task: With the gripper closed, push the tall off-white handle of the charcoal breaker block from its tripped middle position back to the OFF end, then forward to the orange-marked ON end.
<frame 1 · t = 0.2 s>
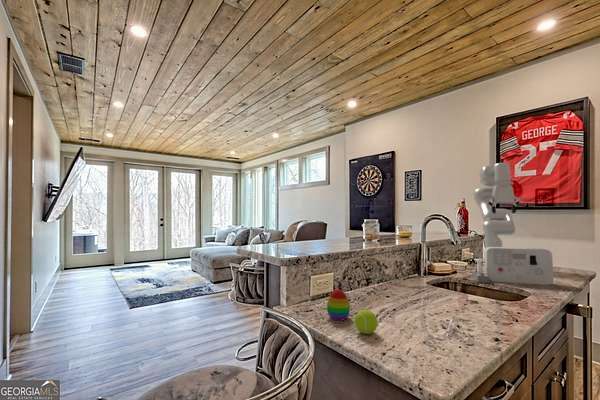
hand: (503, 213, 166), 37 cm above the worktop, tool pointing down, fingers open, 9 cm apart
tennis ball: (366, 333, 89), on the worktop
breaker block: (479, 279, 157), on the worktop
control panel: (517, 282, 151), on the worktop
decorative egg: (338, 318, 103), on the worktop
breaker handle: (479, 267, 158), point 7 cm above the worktop, slide at 5.0 cm
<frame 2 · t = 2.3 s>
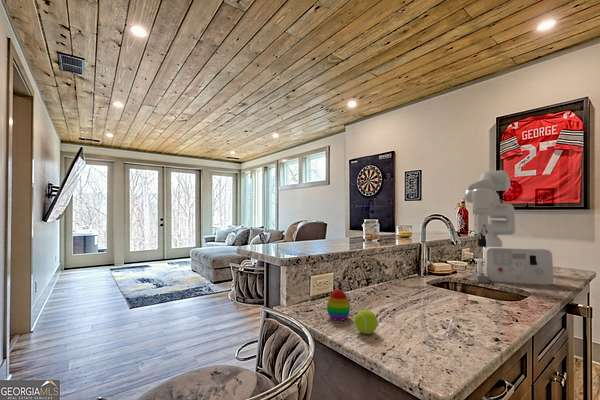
hand: (482, 246, 151), 19 cm above the worktop, tool pointing down, fingers closed
nothing on the worktop moved.
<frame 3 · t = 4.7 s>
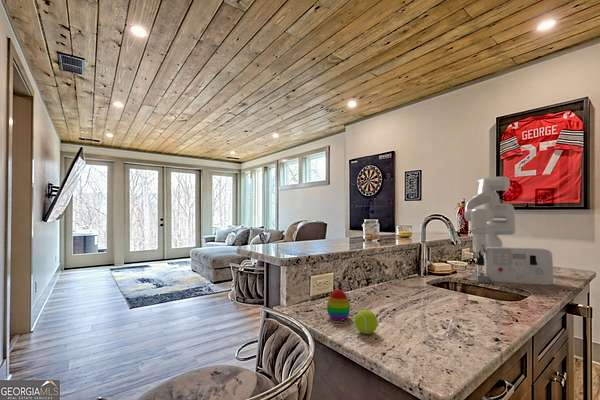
hand: (480, 265, 155), 8 cm above the worktop, tool pointing down, fingers closed
breaker handle: (479, 267, 159), point 7 cm above the worktop, slide at 4.1 cm, touching gripper
everything else where it was.
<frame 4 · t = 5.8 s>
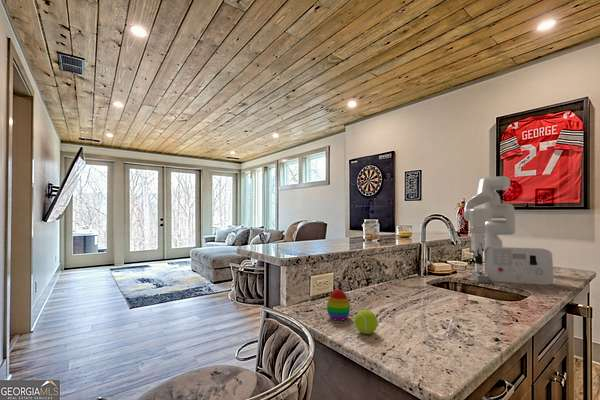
hand: (478, 263, 159), 9 cm above the worktop, tool pointing down, fingers closed
breaker handle: (477, 265, 162), point 7 cm above the worktop, slide at 0.4 cm, touching gripper
everything else where it was.
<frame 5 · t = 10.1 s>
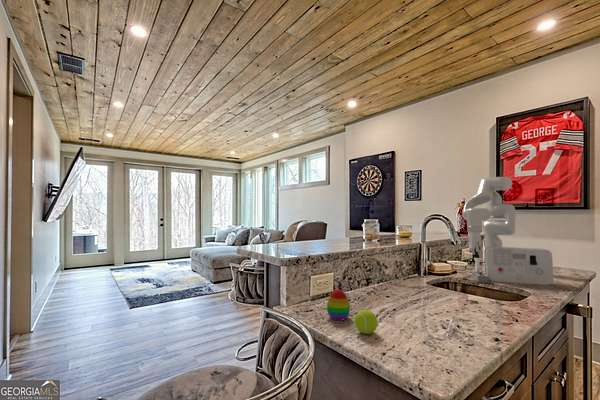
hand: (475, 261, 165), 9 cm above the worktop, tool pointing down, fingers closed
nothing on the worktop moved.
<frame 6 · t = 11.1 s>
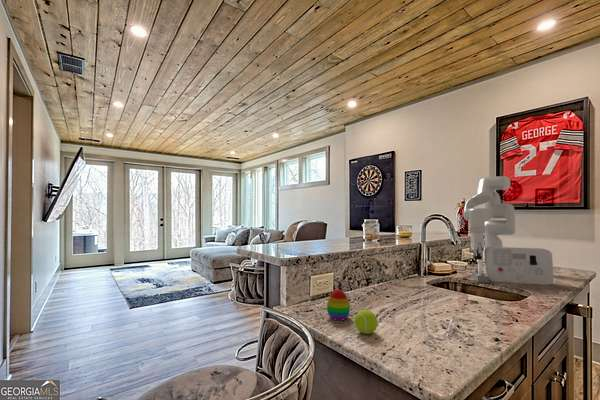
hand: (478, 262, 160), 9 cm above the worktop, tool pointing down, fingers closed
breaker handle: (480, 267, 156), point 7 cm above the worktop, slide at 6.5 cm, touching gripper
everything else where it was.
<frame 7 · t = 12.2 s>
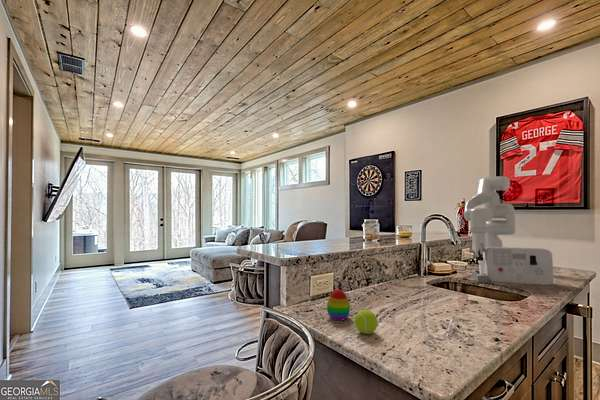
hand: (479, 264, 156), 9 cm above the worktop, tool pointing down, fingers closed
breaker handle: (481, 269, 153), point 7 cm above the worktop, slide at 9.9 cm, touching gripper
everything else where it was.
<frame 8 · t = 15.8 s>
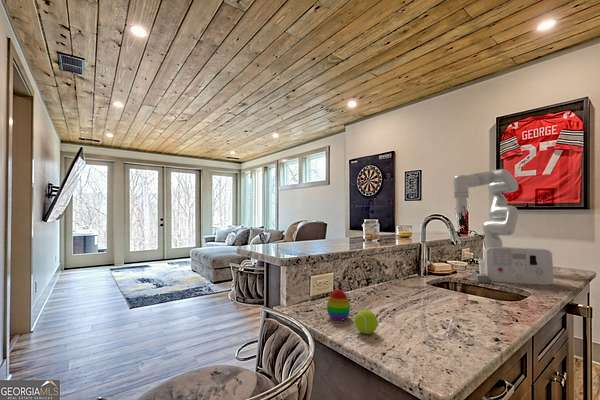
hand: (462, 225, 173), 29 cm above the worktop, tool pointing down, fingers closed
breaker handle: (481, 269, 153), point 7 cm above the worktop, slide at 9.9 cm
everything else where it was.
at the end: breaker handle slide at 9.9 cm; control panel moved 1.0 cm from its start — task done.
